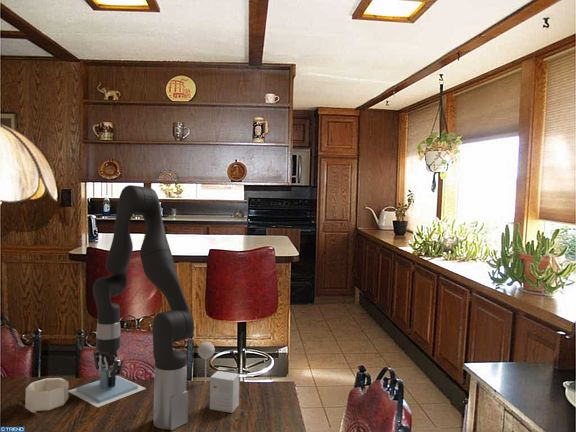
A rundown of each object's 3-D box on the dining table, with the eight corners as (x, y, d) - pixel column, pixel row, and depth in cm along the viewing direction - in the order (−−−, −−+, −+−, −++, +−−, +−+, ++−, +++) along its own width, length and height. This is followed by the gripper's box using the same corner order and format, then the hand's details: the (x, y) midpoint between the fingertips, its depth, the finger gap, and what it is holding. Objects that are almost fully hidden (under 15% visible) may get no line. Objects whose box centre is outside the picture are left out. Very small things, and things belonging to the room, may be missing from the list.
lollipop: (215, 380, 163) (217, 340, 163) (211, 387, 158) (212, 345, 157) (199, 379, 164) (200, 338, 163) (194, 385, 158) (195, 344, 158)
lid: (137, 388, 153) (138, 368, 153) (99, 403, 142) (100, 381, 141) (113, 377, 161) (114, 358, 161) (76, 390, 150) (76, 370, 149)
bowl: (73, 402, 142) (73, 384, 142) (37, 415, 133) (37, 396, 133) (55, 393, 149) (56, 375, 148) (20, 404, 140) (20, 386, 139)
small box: (239, 405, 145) (240, 373, 144) (232, 413, 139) (233, 380, 139) (216, 401, 147) (217, 370, 146) (208, 409, 141) (209, 376, 141)
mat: (146, 390, 153) (146, 388, 153) (97, 409, 139) (97, 407, 139) (115, 376, 164) (115, 374, 164) (67, 392, 149) (67, 390, 149)
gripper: (131, 336, 149) (129, 387, 150) (106, 328, 158) (105, 376, 158) (110, 342, 143) (109, 394, 144) (86, 333, 152) (85, 382, 152)
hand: (107, 384), depth 151 cm, fingers open, 4 cm apart
